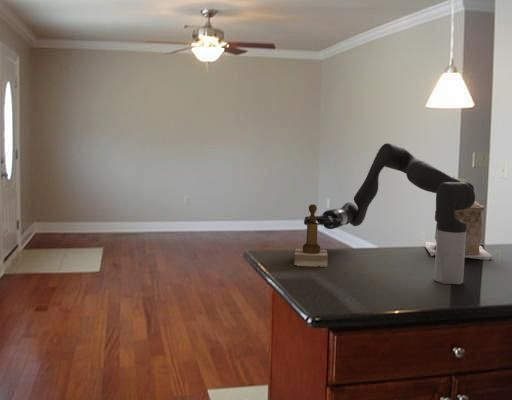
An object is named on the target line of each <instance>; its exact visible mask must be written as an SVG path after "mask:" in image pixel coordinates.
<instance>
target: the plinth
mask: <svg viewBox="0 0 512 400" xmlns="http://www.w3.org/2000/svg"><path fill="white" fill-rule="evenodd" d="M327 250H328V249H321V248H320V253H317V254H310V253H304V252H303V248H298V247H297V248H295V249H294V263H293V264H294V265H297V267H299V266H300V267H318V266H320V267H324V268H326V267H328V258H329V257H328V251H327ZM320 267H319V268H320Z"/></svg>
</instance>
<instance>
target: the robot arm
mask: <svg viewBox="0 0 512 400" xmlns="http://www.w3.org/2000/svg"><path fill="white" fill-rule="evenodd" d="M384 168H389V169H391V170H392V169H393V170H396V171H399V172H402V173H404V174H406V177H407V180H408V181H409V182H410V183H411V184H412V185H414V186H415V187H416V188H418V189H420V190H423V191H426V192H429V193H433V194H436V195H435V211H436V221H435V222H436V224H437V239H436V240H435V243H436V255H434V256H435V259H434V260H435V261H434V278H433V279H434V281H435V282H438V283H441V284H444V285H462V284H463V283H464V276H465V275H464V274H465V273H464V272H465V259H466V258H465V242H466V227H467V225H466V223H465V222H463V221H460V220H458V219H457V218H456V217H455V210H465V209H468V208H470V207H471V206H472V205H473V204H474V202H475V201H476V194H475V190H474V191H473V189H472V187H471V186H470V185H469V184H467V183H465V182H463V181H460V180H457V179H458V178H456V177H455V178H456V179H455V178H453V176H450V175H449V174H447V173H445V172H444V171H442V170H440V169H438V168H437V167H435V166H433V165H432V164H430V163H429V162H427V161H425V160H423V159H421V158H418V157H416V156H415V155H413V154H412V153H411V152H410V151H409V150H407V149H406V148H404V147H402V146H399V145H397V144H394V143H393V144H392V143H383V145H381V147H380V148H379V149H378V151H377V153H376V155H375V157H374V159H373V161H372V164H371V166H370V167H369V170H368V173H367V175H366V177H365V179H364V181H363V183H362V184H361V186H360V187H359V189H358V190H357V191H356V194H355V195H354V196H353V202H354V203H355V204H354V203H353V202H346V203H345V204H344V205H342V207H341V208H333V209H328V210H326V211H324V212H323V213H322V214H321V215H315V217H316V218H315V221H314V222H315V223H318V226H322V227H324V228H325V229H328V230H334V229H338V228H340V227H343V226H346V225H348V224H350V225H352V226H353V227H358V226H360V225H362V224H363V222H364V221H365V219H366V218H365V217H366V215H367V213H368V209H369V206H370V204H371V203H372V202H373V200H374V199H375V197H376V196H377V194H378V191H379V178H380V173H381V172H382V170H383V169H384ZM307 222H310V215H309V216H305V217H304V220H303V224H304V226H307Z"/></svg>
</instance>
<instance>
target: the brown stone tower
mask: <svg viewBox="0 0 512 400" xmlns="http://www.w3.org/2000/svg"><path fill="white" fill-rule="evenodd" d="M452 178H455V179H457V180H460V181H463V182H465V183H467V184H469V185H470V186H471V187H472V189H473V191H474V192H475V188H474V185H473V184H472V183H470V182H469V181H468V180H467V179H465V178H457V177H455V176H452ZM484 210H485V206H484V205H481V203H479V202H477V201H476V200H475V202H474V204H473V205H472V206H471V207H470V208H468V209H465V210H455V217H456V218H457V219H458V220H460V221H463V222H465V223H466V225H467V227H466V242H465V258H464V259H467V258H468V259H475V260H476V259H478V260H483V261H490V259H491V258H493V256H492V254H491V253H489V252H488V251H486V250H485V249H484V248H483V246H481V240H482V239H483V233H482V226H483V225H482V223H483V222H482V213H483V211H484ZM434 221H435V222H436V210H435V212H434ZM436 239H437V223H436V226H435V234H434V240H435V241H436ZM424 246H425V248H426V250H427V251H428V253H429V254H430V256H431V257H432V256H433V257H434V256H436V242H431V241H425V242H424Z"/></svg>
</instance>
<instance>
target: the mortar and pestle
mask: <svg viewBox="0 0 512 400" xmlns="http://www.w3.org/2000/svg"><path fill="white" fill-rule="evenodd" d="M317 209H318V207H317V205H316V204H309V206H308V212H310V215H309V216H310V222H307V225H306V239H305V241H306V243H304V244H303V245H302V249H303V252H304V253H310V254H317V253H320V249H321V246H320V245H319V244H318V226H319V225H318V222H316V223H315V222H314V221H315V218H316V217H315V216H316V215H315V214H316V212H317Z"/></svg>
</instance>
